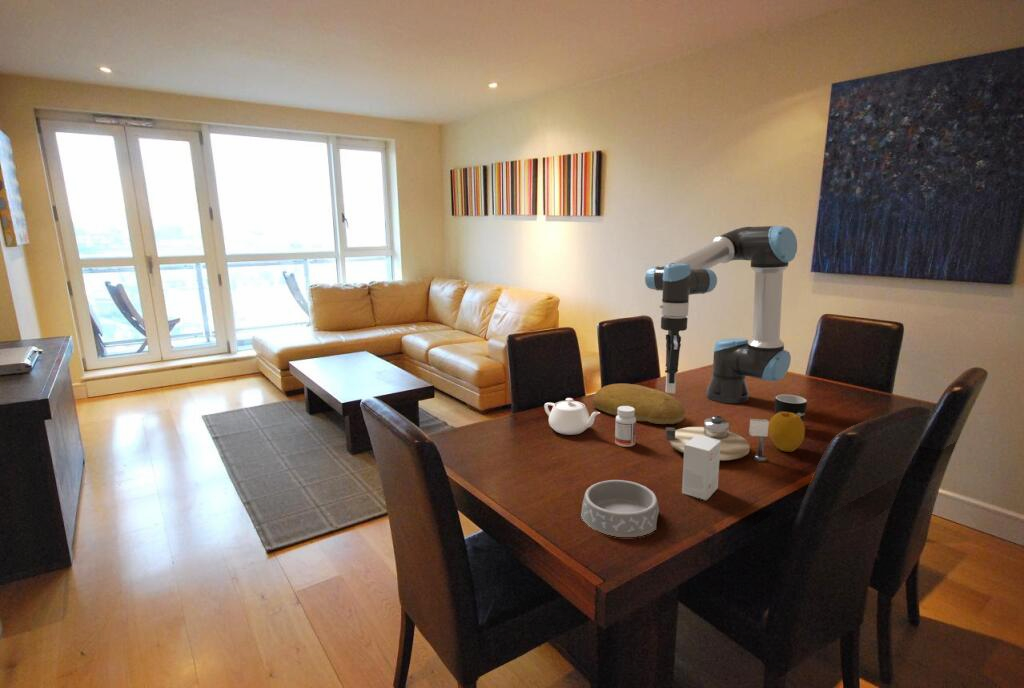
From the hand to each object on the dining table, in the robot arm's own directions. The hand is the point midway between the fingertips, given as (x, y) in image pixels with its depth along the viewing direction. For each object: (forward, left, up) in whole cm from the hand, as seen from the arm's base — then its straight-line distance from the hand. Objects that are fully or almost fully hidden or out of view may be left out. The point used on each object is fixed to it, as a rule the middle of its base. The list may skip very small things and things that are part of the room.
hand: (670, 392), depth 159 cm
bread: (-24, -8, -16) cm, 29 cm away
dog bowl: (+47, -16, -16) cm, 52 cm away
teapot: (-4, -30, -16) cm, 34 cm away
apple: (+4, +33, -16) cm, 36 cm away
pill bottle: (+5, -13, -16) cm, 21 cm away
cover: (+2, +14, -12) cm, 19 cm away
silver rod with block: (+12, +24, -15) cm, 31 cm away
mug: (-15, +41, -16) cm, 46 cm away
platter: (+7, +10, -14) cm, 18 cm away
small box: (+33, +4, -16) cm, 37 cm away
